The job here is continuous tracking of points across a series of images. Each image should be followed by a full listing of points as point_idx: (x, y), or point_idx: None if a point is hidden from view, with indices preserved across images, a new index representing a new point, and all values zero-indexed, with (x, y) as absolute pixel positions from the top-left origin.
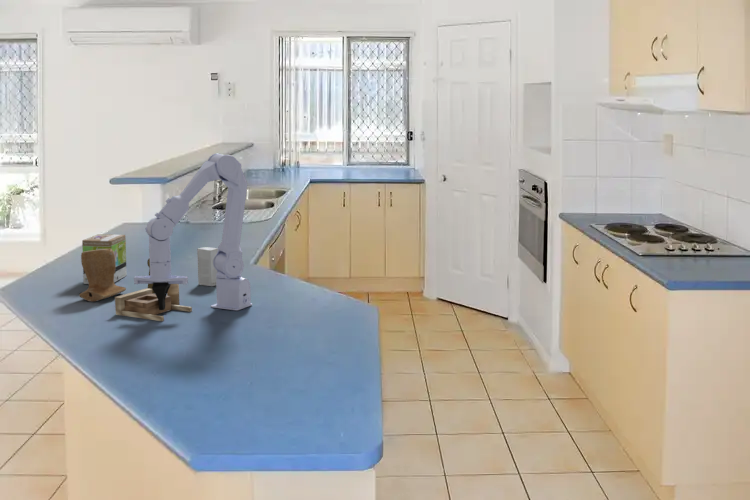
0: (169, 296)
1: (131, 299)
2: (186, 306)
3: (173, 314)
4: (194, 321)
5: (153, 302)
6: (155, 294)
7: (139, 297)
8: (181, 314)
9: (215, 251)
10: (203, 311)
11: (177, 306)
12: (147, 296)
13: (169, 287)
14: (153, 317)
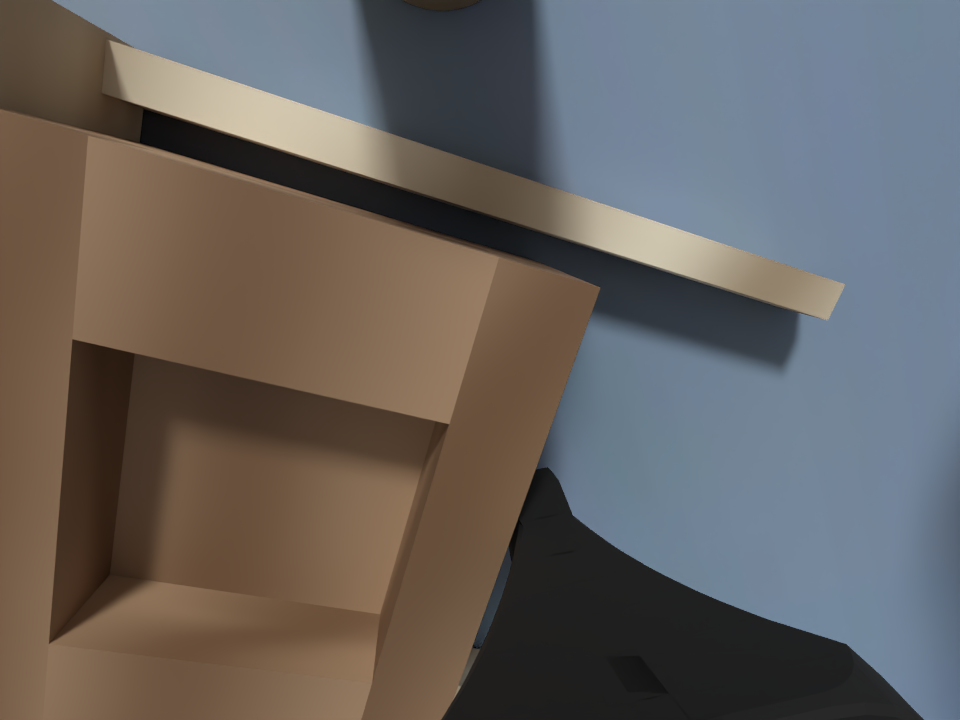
0: (585, 322)
1: (10, 681)
2: (770, 267)
3: (634, 454)
4: (882, 621)
5: (457, 669)
6: (193, 192)
7: (40, 525)
8: (717, 436)
9: None
10: (929, 259)
11: (639, 262)
12: (98, 339)
13: (792, 638)
14: None
